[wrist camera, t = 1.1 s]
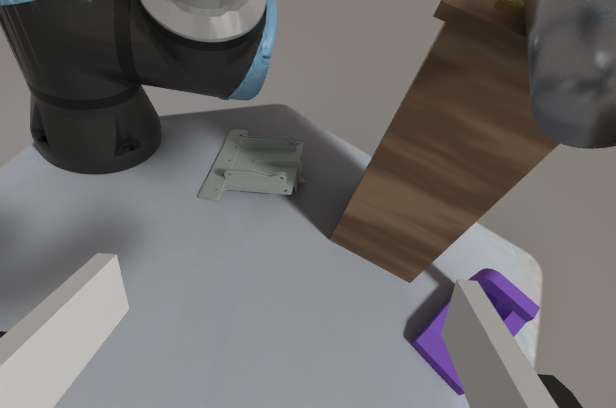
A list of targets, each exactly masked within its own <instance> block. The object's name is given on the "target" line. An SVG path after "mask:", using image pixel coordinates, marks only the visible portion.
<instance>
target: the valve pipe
mask: <svg viewBox="0 0 616 408" xmlns="http://www.w3.org/2000/svg"><path fill="white" fill-rule="evenodd" d="M493 7H495V8H497V9H500V10H502V11H504V12H507V13H509V14H511V15H514V16H516V17H518V18H521V19H523V20H525V21H526V36H527V52H528V67H529V82H530V97H531V112H532V115H533V119H534V121H535V123H536V125H537V126H538V128H539V129H540V130H541V131H542V132H543V133H544V134H545V135H546V136H548V137H549V138H551V139H552V140H554V141H556V142H558V143H561V144H563V145H567V146H571V147H577V148H587V149H593V148H606V147H612V146H616V0H494V6H493Z"/></svg>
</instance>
